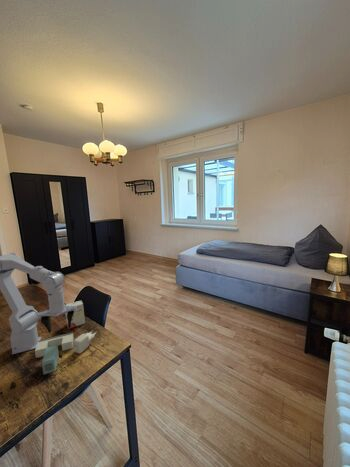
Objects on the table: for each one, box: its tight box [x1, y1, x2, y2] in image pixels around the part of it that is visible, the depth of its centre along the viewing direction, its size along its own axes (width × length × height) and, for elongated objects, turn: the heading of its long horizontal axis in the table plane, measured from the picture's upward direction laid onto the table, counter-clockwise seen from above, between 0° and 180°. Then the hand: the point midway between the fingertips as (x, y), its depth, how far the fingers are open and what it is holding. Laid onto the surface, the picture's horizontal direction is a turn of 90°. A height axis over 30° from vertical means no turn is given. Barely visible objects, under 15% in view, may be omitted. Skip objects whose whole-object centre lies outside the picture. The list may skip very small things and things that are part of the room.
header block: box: [34, 332, 75, 359], centre depth 89 cm, size 14×6×4 cm, turn 112°
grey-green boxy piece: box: [41, 346, 60, 375], centre depth 80 cm, size 4×8×6 cm, turn 22°
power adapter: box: [73, 330, 98, 355], centre depth 91 cm, size 11×5×6 cm, turn 159°
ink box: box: [65, 300, 86, 330], centre depth 106 cm, size 9×5×12 cm, turn 125°
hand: (60, 329), depth 87 cm, fingers open, 7 cm apart
